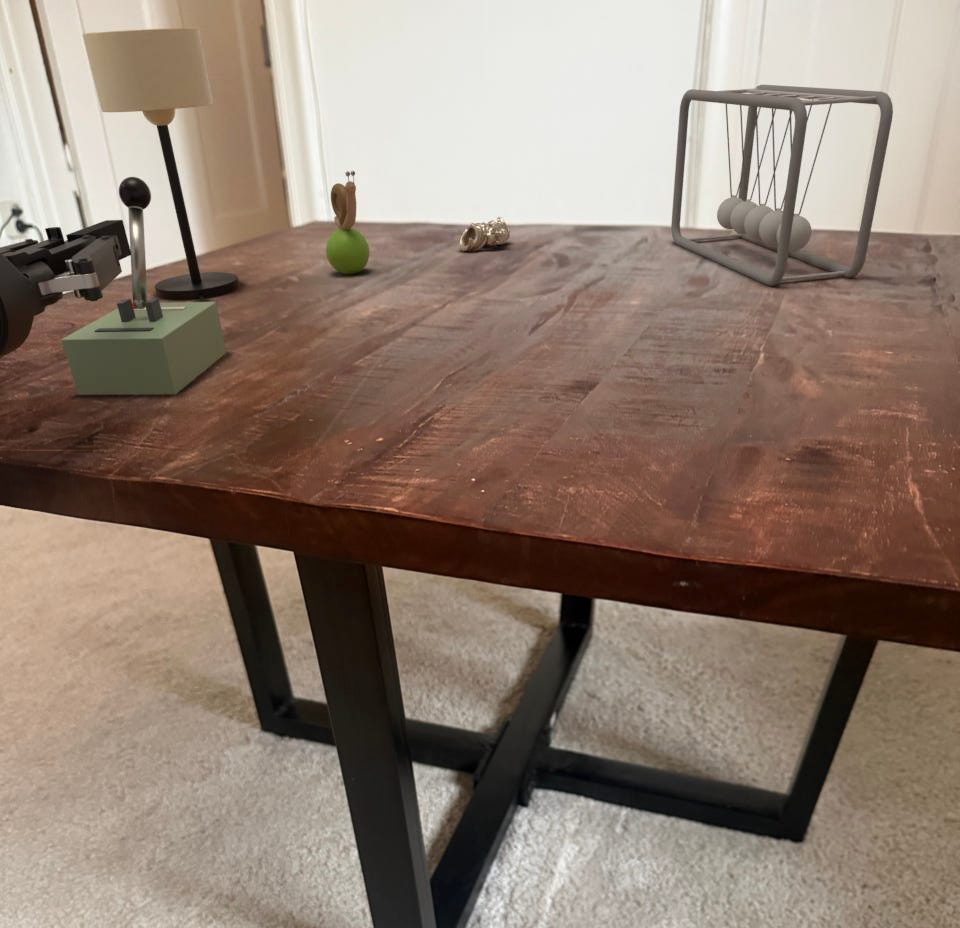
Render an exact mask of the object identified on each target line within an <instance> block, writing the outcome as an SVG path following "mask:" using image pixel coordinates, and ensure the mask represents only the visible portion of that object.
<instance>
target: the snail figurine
mask: <svg viewBox="0 0 960 928" xmlns="http://www.w3.org/2000/svg"><path fill="white" fill-rule="evenodd" d="M355 175H356V172H355V170H350V171H348V170H347V171H345V176H346V177H347V182H346V183H345V185H344V184H342V183H340V182H339V183H335V184H333V186H332V187H331V190H330V203H331V207H332V210H333V213H334V214H335V216H334V217H333V220H334V223H335V225H336V227H337V228H338V229H337V230H334V232H333V233H332V234H331V235H330V236H329V237H328V239H327V242H326V245H325V253H326V258H327V260H328V262H329V265H330V266H331V267H332V268H333V269H334V270H335V271H337V272H338V273H340V274H343V275H349V276H351V275H355V274H358V273H361V271H362V270H363V269H365V267H366V266H367V264H368V262H369V259H370V247H369V244H368V241H367V239H366V237H365V236H364V235H363V234H362V233H361V232H359V230H357V229H355V228H353V226H354V225H355V223H356V219H357V196H356V191H357V186H356V184H355ZM350 176H352V179H353V180H350Z"/></svg>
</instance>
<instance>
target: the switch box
mask: <svg viewBox="0 0 960 928" xmlns="http://www.w3.org/2000/svg"><path fill="white" fill-rule="evenodd" d="M116 306H117V308H116V309H113V310H112V311H110V312H109V313H107V314H105V315H102V316H100V317H99V318H97V319H95V320H94V321H91V322H90V323H88V324H87V325H84V326H83V327H81V328H79V329H78V330H75V331H74V332H72V333H70V334H69V335H67V336H65V337H63V338H61V339H60V342H61V345H62V348H63V351H64V354H65V358H66V360H67V364H68V366H69V370H70V373H71V376H72V379H73V383H74V385H75V389H76V392H77V395H78V396H79V395H81V396H85V395H86V396H94V395H96V396H97V395H99V396H100V395H101V396H103V395H104V396H105V395H110V396H111V395H115V396H116V395H119V396H121V395H123V396H124V395H177V394H178V393H179V392H180V391H181V390H183V389H184V388H185V387H186V386H188V385H189V384H190V383H191V382H192V381H194V380H195V379H196V378H197V377H199V376H200V375H202V373H204V372H205V371H206V370H207V369H209V368H210V367H211V366H212V365H213V364H215V363H216V362H217V361H218V360H219V359H221V358H222V357H224V356H225V355H226V354H227V349H226V344H225V340H224V335H223V330H222V329H223V328H222V325H221V324H222V323H221V320H220V316H219V310H218V306H217V302H216V301H206V302H200V301H191V302H190V301H186V302H185V301H183V302H181V301H179V302H160V298H159V297H155V298H154V297H153V298H150V299H149V300H147V302H145V306H146V307H145V308H144V309H138V308H137V307H135V306H134V304H133V299H132V298H124V299H122V300H120V301H117V303H116Z"/></svg>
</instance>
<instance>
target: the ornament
mask: <svg viewBox="0 0 960 928" xmlns="http://www.w3.org/2000/svg"><path fill="white" fill-rule="evenodd" d="M496 219H497V221H495V220H489V221H488V222H487V223H486V222H484V221H483V222H475V223H474V222H471V223H470V225H469V224H468V225H467V226H466V229H465V230H464V231H463V233H462V234H461V237H460V239H459V243H458V244H459V249H460V250H461V251H462V252H477V251H479V250H482V249H483V248H484V246H485V245H487V246H492V247H496V246H502V245H504V244H506V243H507V241H508V240H509V239H510V238H511V230H510V228H508V225H507V223H506V222H505V220H504V219H503V217H500V216H499V217H497V218H496Z"/></svg>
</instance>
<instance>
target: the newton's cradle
mask: <svg viewBox="0 0 960 928" xmlns="http://www.w3.org/2000/svg"><path fill="white" fill-rule="evenodd" d="M692 101H695V102H697V101H698V102H706V103H714V104H715V103H717V104H724V105H725V118H726V135H727V136H726V137H727V153H728V155H727V156H728V171H729V173H728V175H729V189H730V192H729V193H730V197H728V198H726V199H724V200H723V201H722V202H721V203H720V204H719V206H718V209H717V211H716V219H717V222H718V224H719V225H720V226H721V227H722V228H724V229H725V230H729V231H730V230H733V231H734V232H735V233H731V234H722V235H710V236H699V237H684V236H683V235H682V234H681V233H682V232H681V216H682V203H683V190H684V177H685V176H684V175H685V164H686V150H687V138H688V126H689V113H690V112H689V111H690V105H691V102H692ZM847 103H848V104H849V103H856V104H865V105H878V107H879V110H880V111H879V112H880V115H879V124H878V129H877V134H876V139H875V145H874V149H873V157H872V162H871V165H870V166H871V167H870V172H869V177H868V183H867V188H866V194H865V200H864V203H863V204H864V205H863V210H862V215H861V221H860V226H859V231H858V237H857V242H856V248H855V254H854V258H853V262H852V264H851V266H847V265H844V264H842V263H839V262H836V261H834V260H831V259H828V258H825V257H822V256H819V255H817V254H814V253H811V252H808V251H806V250H802V249H803V248H805V247H806V246H807V245H808V243H809V241H810V240H811V238H812V237H811V236H812V226H811V223H810V222H809V220H808V219H807V218H806V217H804V216H801V214H802V213H801V212H802V209H803V206H804V202H805V198H806V195H807V192H808V188H809V185H810V181H811V178H812V174H813V171H814V167H815V164H816V161H817V158H818V153H819V150H820V146H821V144H822V140H823V136H824V133H825V129H826V126H827V123H828V119H829V116H830V112H831V109H832V105H833V104H834V105H835V104H847ZM728 105H735V106H739V112H740V113H739V114H740V115H739V116H740V133H741V134H740V135H741V136H740V137H741V157H742V161H741V170H740V179H739V183H738V187H737V191H736V194H733V189H732V174H731V173H732V172H731V171H732V170H731V154H730V152H731V151H730V137H729V136H730V134H729V117H728V116H729V115H728ZM818 105H829V107H828V111H827V115H826V116H825V117H826V118H825V120H824V124H823V128H822V131H821V134H820V139H819V142H818V145H817V149H816V152H815V156H814V160H813V163H812V167H811V170H810V173H809V177H808V180H807V184H806V188H805V191H804V194H803V198H802V201H801V205H800V208H799V212H798V213H795V208H796V203H797V194H798V188H799V181H800V174H801V168H802V167H801V166H802V161H803V154H804V148H805V147H804V146H805V140H806V134H807V133H806V132H807V127H808V126H807V125H808V122H809V116H810V114H811V110H812V107H813V106H818ZM742 106H745V107H747V116H746V124H745V125H746V126H745V132H743V130H744V129H743V112H742ZM806 106H810V107H809V109H808V112H807V108H806ZM893 107H894V106H893V102H892V99H891V97H890V95H888V93H886V92H884V91H878V90H863V89H861V90H860V89H845V88H827V87H813V86H811V87H809V86H794V85H793V86H792V85H775V84H759V85H757V86H756V87H755V88H742V89H741V88H740V89H727V90H708V89H693V88H691V89H688V90H686V91H685V93H684V94H683V95H682V98H681V100H680V105H679V114H678V127H677V141H676V154H675V155H676V156H675V169H674V170H675V171H674V183H673V198H672V210H671V223H670V224H671V226H670V228H671V229H670V230H671V237H672V240H673V242H674V244H675V245H676V246H679V247H681V248H684V249H686V250H688V251H690V252H693V253H694V254H697V255H699V256H701V257H704V258H706V259H708V260H710V261H713V262H715V263H717V264H720V265H721V266H724V267H726V268H729V269H730V270H733V271H735V272H737V273H739V274H742V275H744V276H746V277H748V278H749V279H750V278H751V279H753V280H755V281H757V282H760V283H761V284H763V285H765V286H768V287H769V286H770V287H775V286H777V285H778V284H780V283H781V282H789V281H797V280H806V279H807V280H808V279H817V278H826V277H827V278H828V277H836V276H837V277H838V276H840V277H843V278H846V279H852V278H854V277H856V276H858V274H859V273H860V272H861V271H862V269H863V267H864V265H865V262H866V258H867V253H868V248H869V241H870V237H871V231H872V226H873V221H874V216H875V211H876V206H877V200H878V197H879V196H878V195H879V189H880V186H881V185H880V184H881V180H882V174H883V169H884V165H885V158H886V153H887V148H888V143H889V139H890V138H889V137H890V133H891V128H892V121H893V115H894V108H893ZM761 108H762V109H763V108H765V109H771V122H770V124H769V129H768V133H767V136H766V140H765V143H764V147H763V151H762V154H761V158H760V156H759V155H760V154H759V134H758V133H759V128H758V125H759V124H758V120H759V115H760V112H761ZM777 110H784V111H788V112H789V117H788V120H787V124H786V127H785V131H784V134H783V138H782V142H781V145H780V149H779V153H778V156H777V158H776V156H775V122H774V121H775V120H774V118H775V115H776V112H777ZM792 114H793V115H794V128H792ZM788 129H789V137H790V139H789V140H790V143H789V144H790V157H789V164H788V174H787V179H786V187H785V191H784V195H783V198H782V202H781V206H780V208H779V207H777V197H776V196H777V195H776V192H777V191H776V190H777V189H776V170H777V167H778V165H779V160H780V157H781V153H782V150H783V146H784V142H785V140H786V136H787V132H788ZM792 129H793V132H792ZM771 131H772V132H771ZM755 132H756V133H755ZM744 133H745V134H744ZM771 133H772V161H773V163H772V164H773V166H772V167H773V169H772V170H773V173H772V177H771V180H770V181H771V182H770V185H769V188H768V191H767V195H766V198H765V202H764V203H761V182H760V181H761V180H760V170H761V166H762V163H763V159H764V155H765V151H766V148H767V144H768V140H769V137H770V134H771ZM755 134H756V156H757V157H756V158H757V159H756V160H757V173H756V176H755V180H754V183H753V187H752V191H751V195H750V199H748V193H749V192H748V191H749V185H750V184H749V182H750V174H751V168H752V167H751V166H752V157H753V148H754V140H755ZM775 158H776V159H777V160H776V159H775ZM756 184H757V185H758V188H757V189H758V204H757V203H755V202H754V201H752V199H753V195H754V192H755V187H756ZM772 185H773V198H774V199H773V200H774V201H773V202H774V203H773V205H774V209H772V208H771V207H770V206H767V203H768V199H769V195H770V191H771V188H772ZM729 238H741V239H743V240H744V241H748V242H750V243H753V244H756V245H758V246H761V247H763V248H766V249H769V250H771V251H774V252H776V259H775V267H774V271H773V273H769V272H766V271H765V270H762V269H759V268H757V267H755V266H752V265H750V264H748V263H745V262H743V261H740V260H738V259H735V258H734V257H731V256H729V255H726V254H724V253H723V252H719V251H717V250H715V249H712V248H710V247H707V246H705V245H703V244H700V243H699V241H708V240H719V239H729ZM788 257H790V258H792V259H795V260H798V261H800V262H803V263H805V264H809V265H811V266H814V267H816V268H819V269H822V270H824V271H827V272H823V273H821V272H820V273H812V274H811V273H810V274H803V275H802V274H801V275H792V276H785V273H786V270H787V266H788V265H787V264H788Z"/></svg>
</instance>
